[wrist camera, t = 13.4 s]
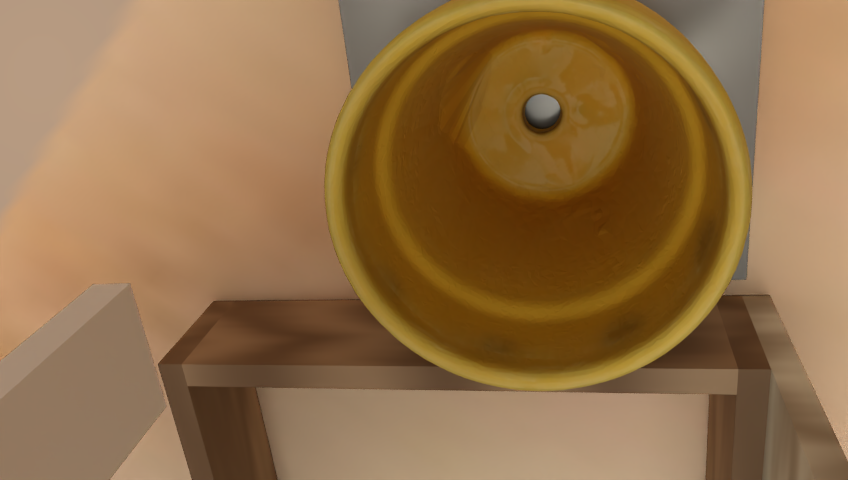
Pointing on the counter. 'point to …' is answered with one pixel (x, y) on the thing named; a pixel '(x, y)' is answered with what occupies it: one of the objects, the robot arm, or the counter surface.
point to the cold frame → (404, 369)
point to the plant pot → (539, 190)
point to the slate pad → (677, 3)
